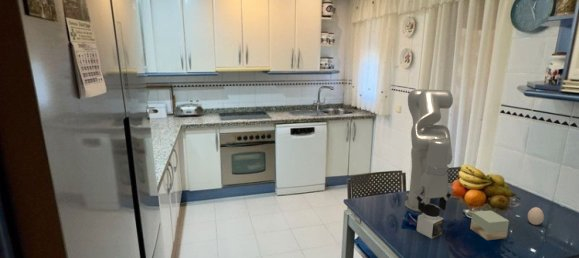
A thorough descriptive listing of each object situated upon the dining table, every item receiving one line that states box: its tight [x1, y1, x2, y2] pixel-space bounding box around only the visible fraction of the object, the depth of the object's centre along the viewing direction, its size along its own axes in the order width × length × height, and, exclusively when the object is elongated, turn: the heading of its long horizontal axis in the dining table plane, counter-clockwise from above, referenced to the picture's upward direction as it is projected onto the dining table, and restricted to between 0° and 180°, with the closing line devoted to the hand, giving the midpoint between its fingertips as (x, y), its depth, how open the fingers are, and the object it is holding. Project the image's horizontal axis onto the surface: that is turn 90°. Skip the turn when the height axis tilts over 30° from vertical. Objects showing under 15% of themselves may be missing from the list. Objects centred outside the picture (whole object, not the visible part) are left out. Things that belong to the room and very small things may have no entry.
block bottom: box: [470, 221, 509, 241], centre depth 128 cm, size 9×9×4 cm
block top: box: [470, 210, 510, 232], centre depth 128 cm, size 9×9×4 cm
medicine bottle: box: [416, 203, 444, 239], centre depth 127 cm, size 7×7×12 cm
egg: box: [527, 206, 545, 226], centre depth 135 cm, size 6×6×8 cm
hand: (431, 209), depth 127 cm, fingers open, 9 cm apart
